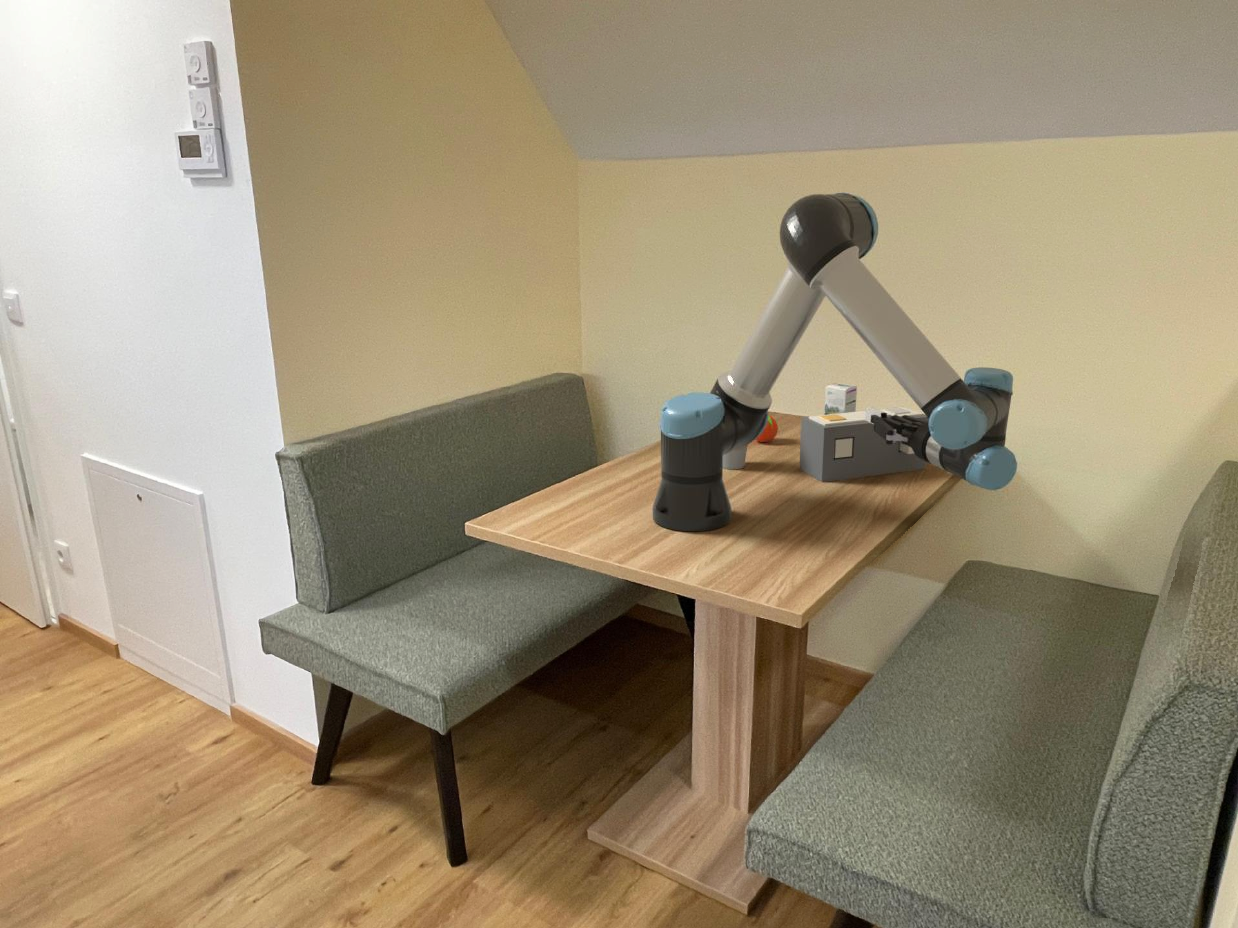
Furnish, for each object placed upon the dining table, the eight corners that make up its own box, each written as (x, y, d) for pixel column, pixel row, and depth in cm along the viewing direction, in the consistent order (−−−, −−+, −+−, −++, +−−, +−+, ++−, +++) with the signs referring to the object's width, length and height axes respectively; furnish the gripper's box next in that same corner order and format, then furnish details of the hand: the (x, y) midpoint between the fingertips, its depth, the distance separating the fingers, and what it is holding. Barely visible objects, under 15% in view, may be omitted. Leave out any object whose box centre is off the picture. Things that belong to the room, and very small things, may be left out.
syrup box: (854, 442, 218) (858, 384, 214) (842, 447, 214) (845, 389, 210) (834, 438, 222) (837, 382, 218) (822, 443, 218) (824, 386, 214)
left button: (851, 456, 190) (852, 438, 189) (835, 458, 189) (836, 440, 188) (838, 449, 195) (839, 432, 194) (822, 451, 194) (823, 433, 193)
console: (925, 468, 196) (930, 413, 193) (821, 482, 189) (824, 424, 186) (899, 456, 206) (903, 403, 202) (799, 469, 198) (801, 414, 195)
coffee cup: (751, 460, 206) (752, 397, 202) (753, 472, 197) (754, 406, 193) (710, 459, 207) (711, 397, 203) (710, 471, 198) (711, 406, 194)
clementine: (784, 444, 218) (785, 416, 216) (759, 448, 215) (760, 419, 213) (769, 437, 225) (769, 409, 223) (744, 440, 223) (745, 412, 221)
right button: (924, 452, 191) (925, 434, 190) (908, 454, 190) (909, 436, 189) (909, 445, 196) (910, 428, 195) (893, 447, 195) (894, 430, 194)
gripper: (908, 469, 157) (838, 434, 178) (970, 462, 160) (894, 428, 182) (912, 428, 154) (841, 397, 176) (975, 422, 158) (898, 393, 179)
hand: (868, 413), depth 179 cm, fingers closed
